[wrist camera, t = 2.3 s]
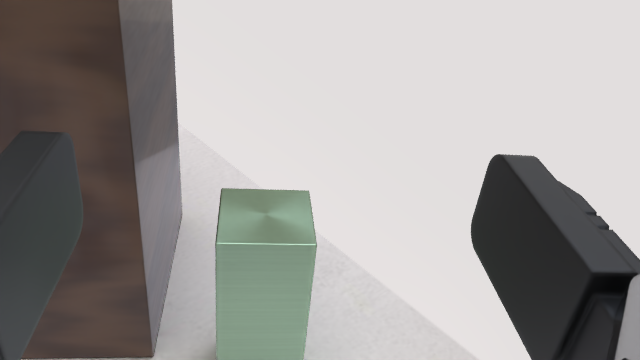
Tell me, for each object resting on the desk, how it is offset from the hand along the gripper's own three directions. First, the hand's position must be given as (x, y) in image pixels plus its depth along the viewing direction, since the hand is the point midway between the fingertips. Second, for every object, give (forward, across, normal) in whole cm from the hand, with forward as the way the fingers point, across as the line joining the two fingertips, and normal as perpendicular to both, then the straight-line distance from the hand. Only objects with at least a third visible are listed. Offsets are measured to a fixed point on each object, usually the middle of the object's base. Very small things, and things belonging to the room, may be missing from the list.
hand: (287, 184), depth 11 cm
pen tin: (+12, 0, +20) cm, 23 cm away
